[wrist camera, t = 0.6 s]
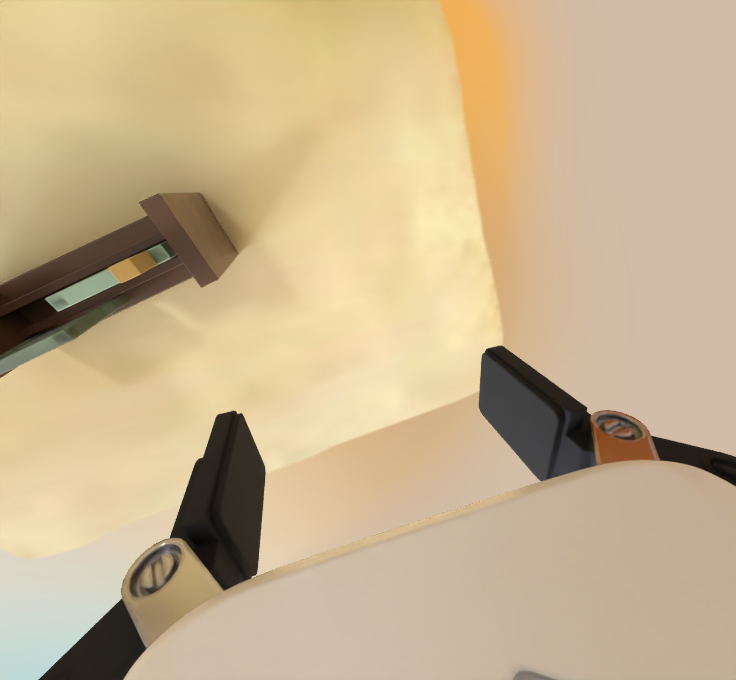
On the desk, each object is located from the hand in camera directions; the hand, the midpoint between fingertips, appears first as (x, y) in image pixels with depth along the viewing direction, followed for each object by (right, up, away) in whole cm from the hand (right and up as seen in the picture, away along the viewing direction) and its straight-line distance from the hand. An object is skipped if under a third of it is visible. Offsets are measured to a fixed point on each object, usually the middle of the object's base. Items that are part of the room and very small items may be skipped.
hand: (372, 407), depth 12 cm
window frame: (-27, +10, +22) cm, 36 cm away
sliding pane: (-22, +12, +20) cm, 32 cm away
